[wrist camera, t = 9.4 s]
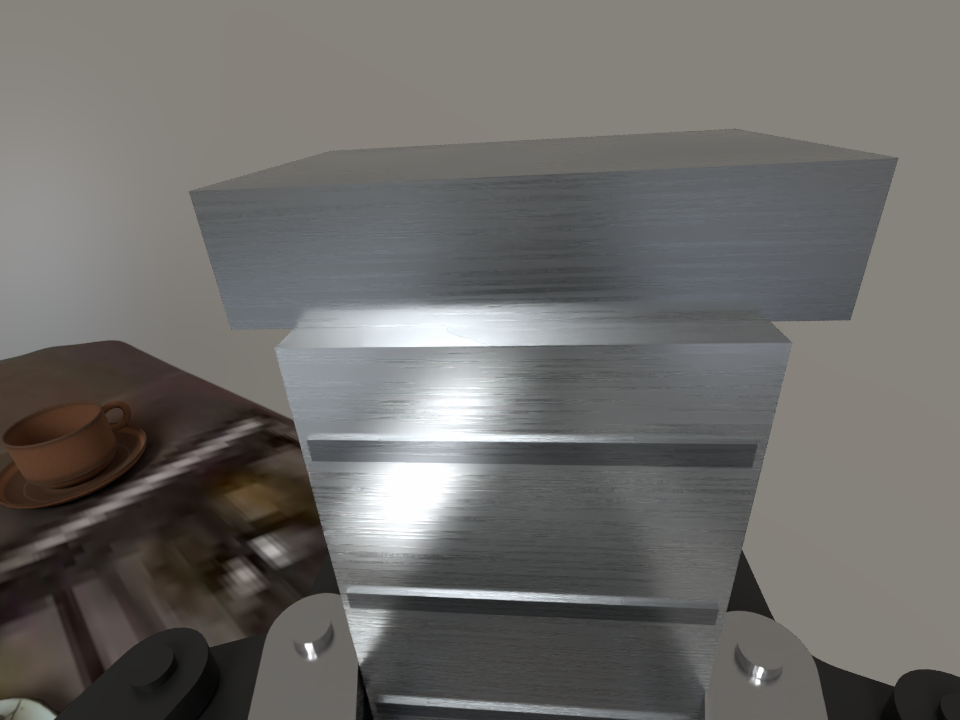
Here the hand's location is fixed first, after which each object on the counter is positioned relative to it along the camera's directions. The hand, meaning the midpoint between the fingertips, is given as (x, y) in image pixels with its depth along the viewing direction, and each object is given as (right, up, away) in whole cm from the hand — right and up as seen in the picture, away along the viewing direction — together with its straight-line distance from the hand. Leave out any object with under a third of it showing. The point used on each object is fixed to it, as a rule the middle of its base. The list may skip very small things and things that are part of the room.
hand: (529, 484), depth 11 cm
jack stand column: (+1, -14, +4) cm, 15 cm away
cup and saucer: (-39, -9, +38) cm, 55 cm away
